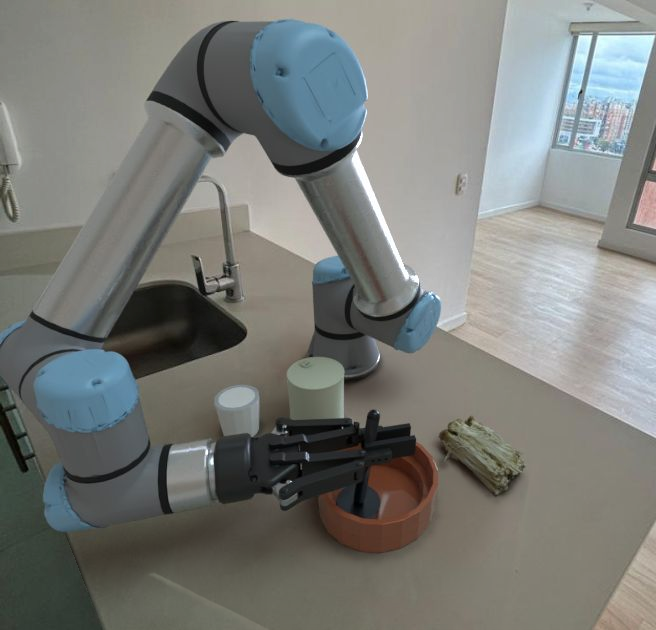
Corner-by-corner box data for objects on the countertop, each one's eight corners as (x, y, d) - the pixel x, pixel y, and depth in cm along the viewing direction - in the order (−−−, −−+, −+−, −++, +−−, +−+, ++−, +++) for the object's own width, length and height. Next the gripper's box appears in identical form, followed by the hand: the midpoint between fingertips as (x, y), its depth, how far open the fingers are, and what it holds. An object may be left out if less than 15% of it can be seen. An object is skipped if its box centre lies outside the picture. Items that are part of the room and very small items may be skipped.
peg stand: (358, 485, 66) (375, 390, 58) (387, 511, 62) (408, 414, 55) (326, 507, 61) (339, 407, 54) (355, 536, 58) (373, 434, 51)
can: (321, 403, 83) (319, 347, 77) (355, 426, 78) (356, 369, 72) (278, 427, 76) (273, 368, 71) (313, 454, 71) (310, 394, 66)
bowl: (353, 447, 74) (353, 419, 71) (448, 479, 69) (452, 450, 66) (295, 528, 60) (293, 496, 57) (409, 575, 55) (412, 543, 52)
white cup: (271, 428, 76) (268, 395, 73) (236, 451, 71) (231, 416, 68) (245, 411, 79) (241, 378, 76) (210, 432, 74) (204, 398, 71)
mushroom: (429, 452, 74) (432, 426, 72) (468, 428, 80) (472, 404, 77) (496, 509, 65) (502, 483, 62) (535, 478, 71) (542, 452, 68)
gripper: (224, 449, 59) (396, 423, 66) (215, 548, 47) (427, 503, 54) (217, 405, 56) (399, 382, 63) (205, 499, 44) (432, 458, 51)
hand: (411, 438), depth 59 cm, fingers closed on peg stand, 2 cm apart
